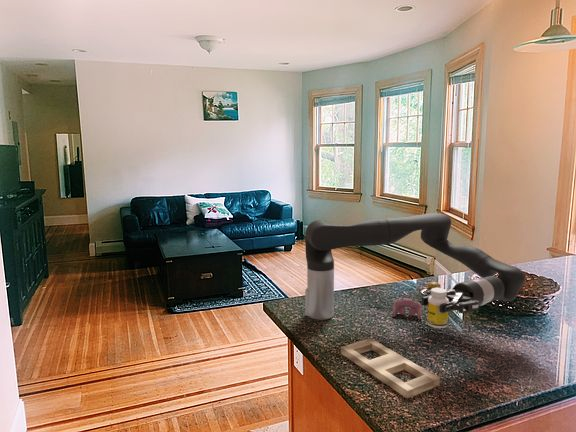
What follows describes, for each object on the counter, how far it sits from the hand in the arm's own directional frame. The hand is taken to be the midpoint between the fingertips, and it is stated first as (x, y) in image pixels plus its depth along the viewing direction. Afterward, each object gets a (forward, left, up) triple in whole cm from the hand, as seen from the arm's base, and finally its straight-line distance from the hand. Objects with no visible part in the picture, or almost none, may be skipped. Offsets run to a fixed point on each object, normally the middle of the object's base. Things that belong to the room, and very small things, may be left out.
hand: (431, 305), depth 116 cm
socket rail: (-10, -6, -17) cm, 21 cm away
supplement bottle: (+2, +2, -6) cm, 7 cm away
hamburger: (-3, +58, -18) cm, 61 cm away
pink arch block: (-10, +32, -17) cm, 38 cm away
